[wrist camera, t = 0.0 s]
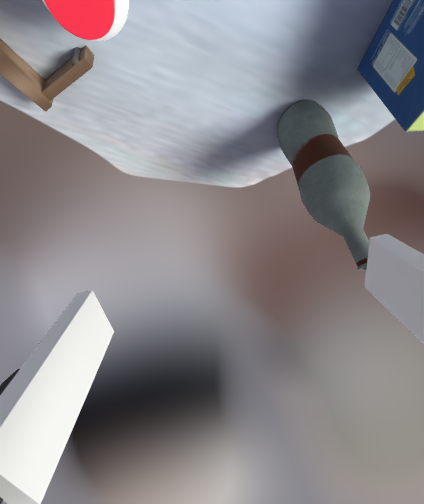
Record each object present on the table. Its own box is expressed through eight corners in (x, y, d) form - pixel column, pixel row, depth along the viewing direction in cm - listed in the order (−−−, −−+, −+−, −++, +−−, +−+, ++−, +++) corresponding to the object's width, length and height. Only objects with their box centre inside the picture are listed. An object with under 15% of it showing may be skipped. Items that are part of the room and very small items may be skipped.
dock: (-78, -20, 24) (-95, -5, 23) (-27, -93, 21) (-42, -81, 20) (50, 94, 35) (45, 111, 33) (95, 57, 32) (93, 74, 30)
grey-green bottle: (264, 127, 45) (319, 275, 32) (307, 84, 39) (398, 243, 26) (292, 149, 51) (349, 283, 37) (333, 115, 45) (419, 258, 32)
